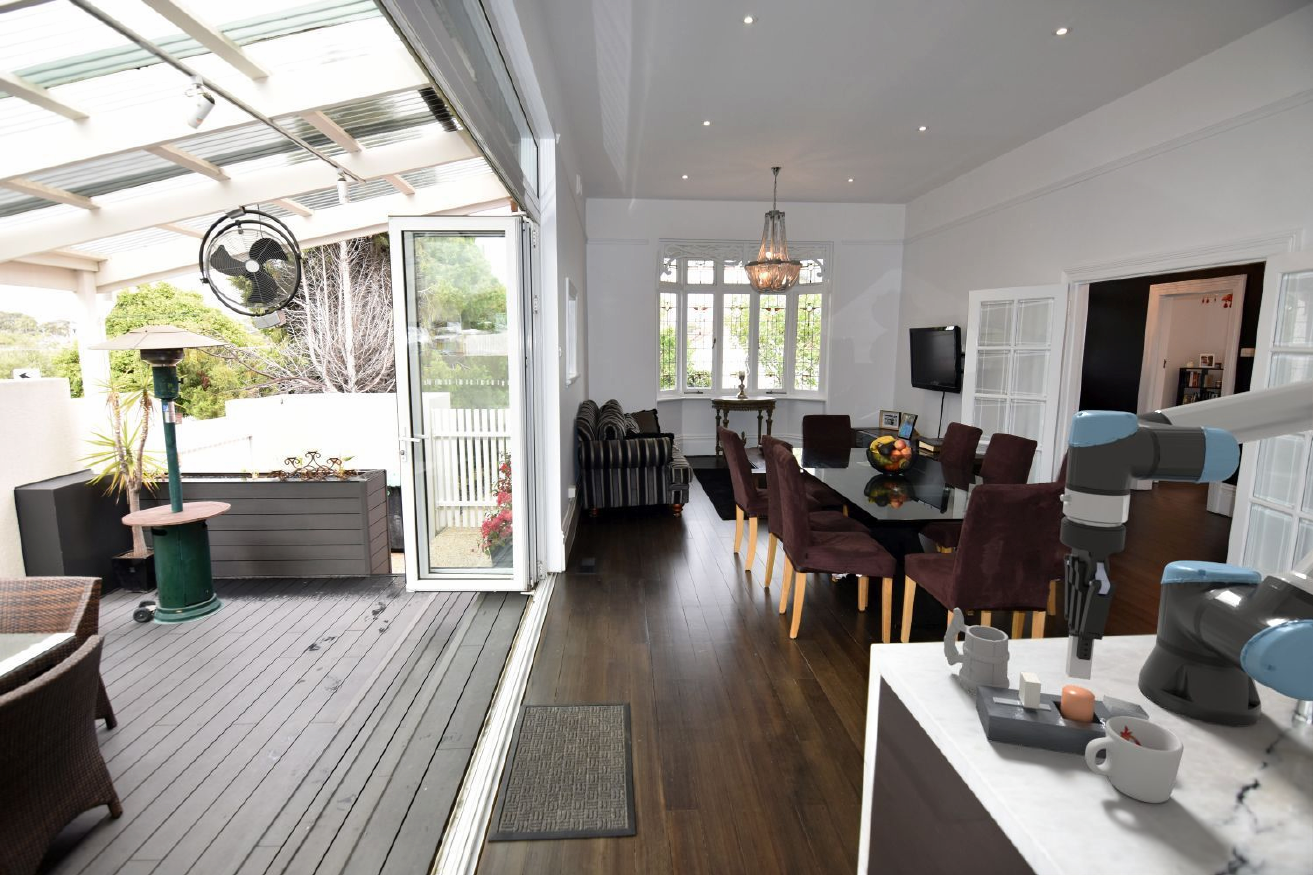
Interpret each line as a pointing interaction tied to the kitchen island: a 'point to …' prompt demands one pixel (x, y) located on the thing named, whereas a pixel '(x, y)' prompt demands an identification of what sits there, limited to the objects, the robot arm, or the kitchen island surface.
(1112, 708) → the rocker
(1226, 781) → the kitchen island surface
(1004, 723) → the console
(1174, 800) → the kitchen island surface
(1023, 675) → the slider
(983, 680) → the mug
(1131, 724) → the cup
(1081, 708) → the button
